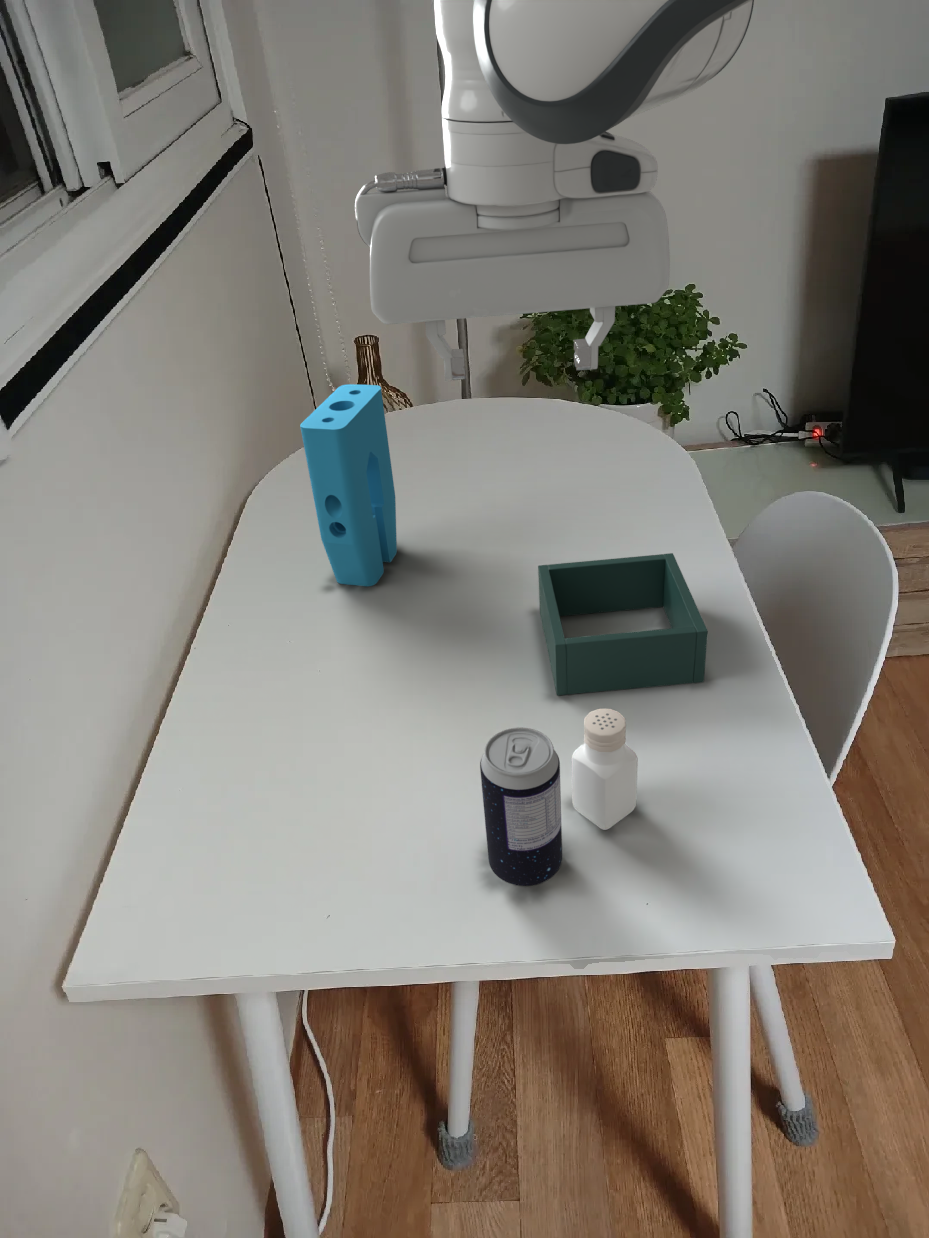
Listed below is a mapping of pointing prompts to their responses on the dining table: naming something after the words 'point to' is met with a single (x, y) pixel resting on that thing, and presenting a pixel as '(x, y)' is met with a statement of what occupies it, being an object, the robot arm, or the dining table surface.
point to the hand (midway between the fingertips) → (520, 372)
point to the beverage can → (522, 806)
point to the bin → (621, 654)
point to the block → (352, 482)
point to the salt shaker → (604, 770)
